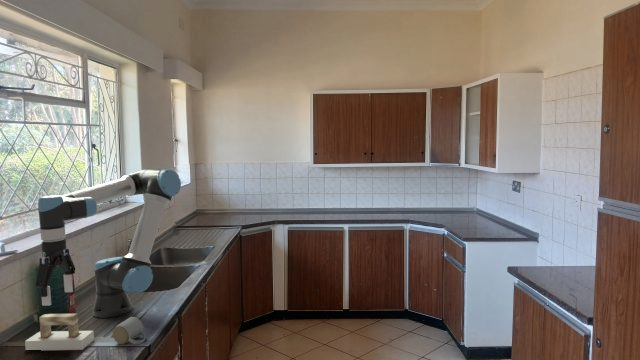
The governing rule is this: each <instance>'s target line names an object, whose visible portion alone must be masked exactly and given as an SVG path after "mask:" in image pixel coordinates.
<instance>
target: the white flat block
mask: <svg viewBox="0 0 640 360" xmlns="http://www.w3.org/2000/svg"><path fill="white" fill-rule="evenodd" d="M94 340H95V335H94V330H79V336H77V337H76V338H69V333H68V330H66V331H65V330H60V331H59V330H56V331H55V330H54V331H52V330H51V336H50V337H49V338H47V339H41V334H40V331H38V332H36V333H35V334H33V335H32V336H30V337H29V338H27V339H26V340H25V341H24V344H25V345H24V346H25V351H26V350H41V351H81V350H82V351H83V350H84V349H86V347H88V346H89V345H90V344H91V343H92V342H94Z"/></svg>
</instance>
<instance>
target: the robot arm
mask: <svg viewBox="0 0 640 360" xmlns="http://www.w3.org/2000/svg"><path fill="white" fill-rule="evenodd" d="M181 185H182V181H181V178H180V176H179V174H178V173H177V172H176V171H175V170H172V169H167V168H145V169H141V170H138V171H135V172H131V173H128V174H126V175H123V176H122V177H121V178H120V179H117V180H116V179H115V180H112V181H108V182H106V183H105V182H104V183H102V184H98V185H94V186H91V187H87V188H84V189H80V190H78V191H77V190H76V191H74V192H71V193H66V194H63V195H45V196H41V197H39V198H38V201H37V206H38V207H37V212H38V217H39V219H38V220H39V230H40V240H41V243H40V246H41V252H42V253H44V254H45V257H39V264H38V265H39V266H38V271H37V275H36V280H35V286H34V287H35V288H39V289H40V296H41V305H42V306H49V307H50V306H51V305H52V295H51V286H50V285H49V284H50V281H51V279H52V276H53V272H54V270H55V269H56V267H58V266H59V268H60V270H62V272H63V273H64V274H63V286H64V293H73V292H74V287H73V286H74V284H73V275H75V274H76V265H75V263H74V262H73V259H72V257H71V254H70V249H69V248H67V240H66V237H67V236H66V226H65V222H67V221H72V220H79V219H86V218H90V217H93V216H95V215H96V213H97V211H98V205H100V204H103V203H107V202H110V201H113V200H116V199H120V198H122V197H126V196H128V197H133V196H137V195H143V197H144V199H145V201H144V203H143V207H142V209H141V214H140V216H139V219H138V222H137V226H136V227H135V231H134V234H133V238H132V241H131V244H130V246H129V250H128V253H127V254H125V255H124V256H114V257H109V258H104V259H100V260H98V261H96V262H95V263H94V276H95V278H94V279H95V294H96V295H95V300H94V304H93V308H92V315H93V316H94V318H101V319H103V318H104V319H105V318H114V317H118V316H122V315H125V314H127V313H129V312H130V311H132V303H131V300H130V297H129V295H128V294H131V295H132V294H134V295H135V294H136V295H137V294H142V293H143V292H144V291H146V290H147V289H149V287H150V286H151V285H152V282H153V279H154V274H153V269H152V268H151V265H152V262H151V260H150V257H151V253H152V250H153V246H154V243H155V241H156V238H157V234H158V232H159V231H158V230H159V227H160V225H161V221H162V219H163V215H164V212H165V208H166V207H167V205H168V204H170V203H171V202H172V198H173V197H174V196H176V195H177V194H179V192H180V190H181V189H182V186H181Z"/></svg>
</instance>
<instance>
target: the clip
mask: <svg viewBox="0 0 640 360" xmlns="http://www.w3.org/2000/svg"><path fill="white" fill-rule="evenodd" d="M78 315H79V314H78V313H45V314H42V315H41V316H39V317H38V318H39V332H40V334H41V339H47V338H49V337H50V336H51V331H52V326H67V328H68V329H67V331H68V333H69V338H76V337H77V336H79V331H80V330H79V327H80V326H79V316H78Z"/></svg>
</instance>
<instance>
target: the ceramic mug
mask: <svg viewBox="0 0 640 360" xmlns="http://www.w3.org/2000/svg"><path fill="white" fill-rule="evenodd" d="M140 336H141V337H142V338H143V339H140V340H135V339H138V338H139V337H140ZM146 337H147V336H146V334H145V333H144V325H143V322H142V321H141V320H140V318H138V317H135V316H130V317H128V318H126V319H125V320H124V321H122V322H120V323H119V324H117V325H116V326H115V327H114V328H113V330H112V338H113V340H114V341H115V342H116V343H117V344H119V345H126V344H127V343H130V344H133V345H140V344H143V343H144V342H145V340H146Z"/></svg>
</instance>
